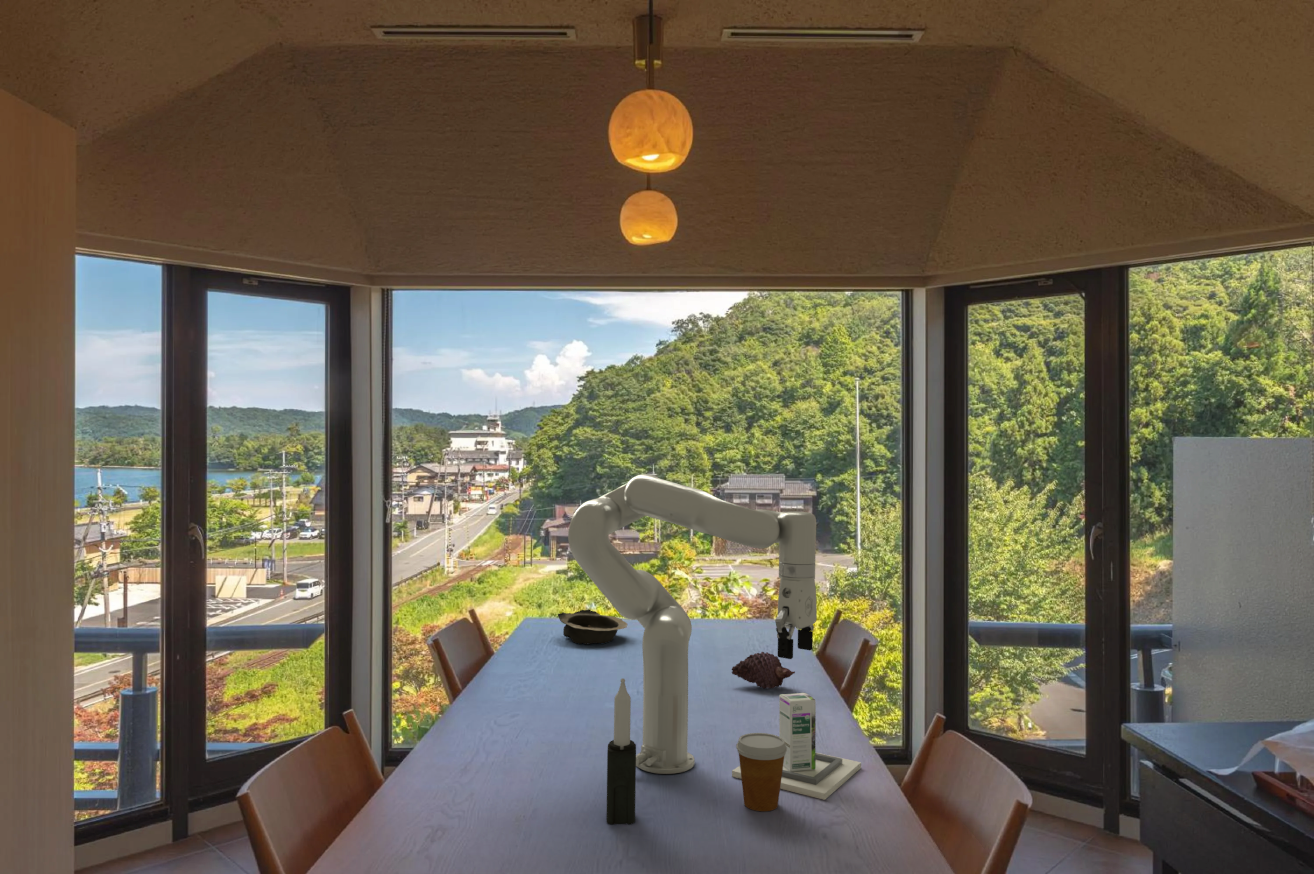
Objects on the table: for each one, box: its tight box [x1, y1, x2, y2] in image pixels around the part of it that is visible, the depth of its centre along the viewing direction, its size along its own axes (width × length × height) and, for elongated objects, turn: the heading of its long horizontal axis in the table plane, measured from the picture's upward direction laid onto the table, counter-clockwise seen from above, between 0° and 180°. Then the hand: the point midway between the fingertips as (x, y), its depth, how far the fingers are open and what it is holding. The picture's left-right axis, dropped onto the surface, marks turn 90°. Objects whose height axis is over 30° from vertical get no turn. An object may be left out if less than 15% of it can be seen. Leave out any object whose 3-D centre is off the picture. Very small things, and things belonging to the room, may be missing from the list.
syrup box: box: [778, 692, 817, 772], centre depth 175 cm, size 6×6×14 cm
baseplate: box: [731, 751, 862, 801], centre depth 174 cm, size 20×20×2 cm
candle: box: [605, 678, 637, 825], centre depth 152 cm, size 5×5×25 cm
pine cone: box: [731, 651, 796, 690], centre depth 238 cm, size 18×10×10 cm, turn 83°
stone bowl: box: [557, 609, 628, 645], centre depth 296 cm, size 25×25×9 cm
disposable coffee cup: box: [735, 732, 787, 812], centre depth 158 cm, size 10×10×12 cm
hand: (795, 653), depth 176 cm, fingers open, 9 cm apart
